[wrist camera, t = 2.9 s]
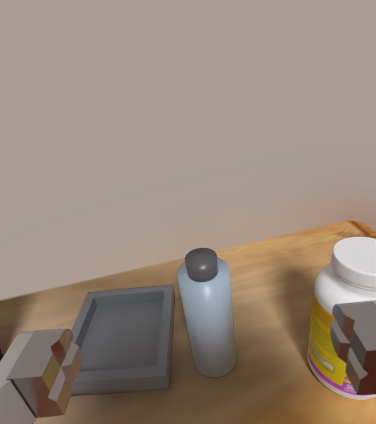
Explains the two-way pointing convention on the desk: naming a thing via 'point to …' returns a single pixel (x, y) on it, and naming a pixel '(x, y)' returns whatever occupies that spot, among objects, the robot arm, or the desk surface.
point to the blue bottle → (208, 311)
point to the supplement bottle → (336, 294)
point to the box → (125, 340)
